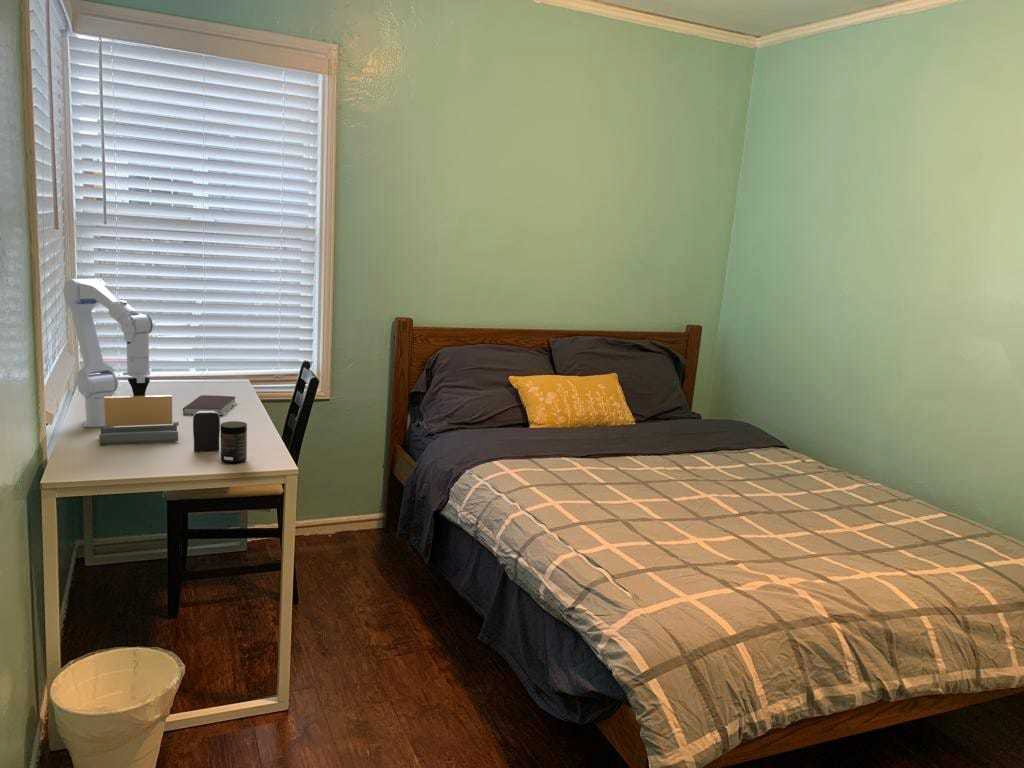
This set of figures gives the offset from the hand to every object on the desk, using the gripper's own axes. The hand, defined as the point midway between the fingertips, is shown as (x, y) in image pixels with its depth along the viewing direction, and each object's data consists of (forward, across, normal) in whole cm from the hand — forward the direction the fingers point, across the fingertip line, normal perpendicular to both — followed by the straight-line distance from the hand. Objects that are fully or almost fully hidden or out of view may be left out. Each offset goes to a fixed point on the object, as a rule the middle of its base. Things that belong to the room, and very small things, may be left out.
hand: (139, 402), depth 222 cm
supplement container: (+10, +32, +20) cm, 39 cm away
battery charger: (+10, +19, +15) cm, 27 cm away
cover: (+2, +1, 0) cm, 3 cm away
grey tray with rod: (+10, +4, -1) cm, 11 cm away
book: (+11, -29, +24) cm, 39 cm away
